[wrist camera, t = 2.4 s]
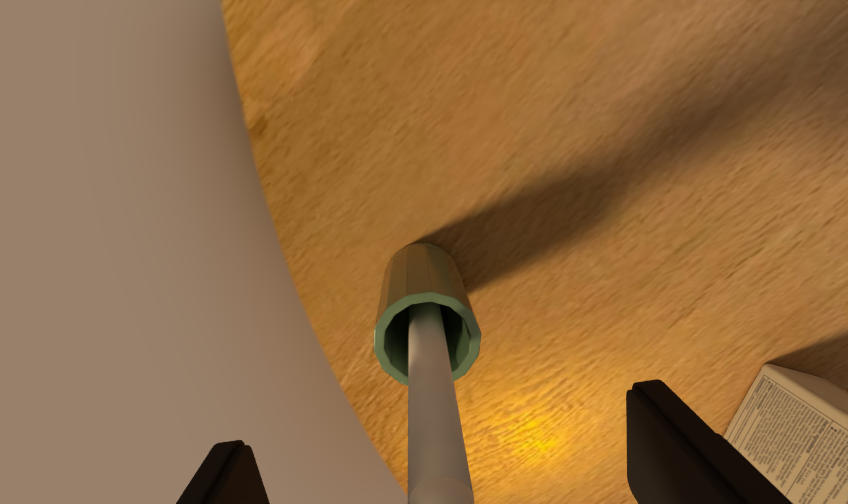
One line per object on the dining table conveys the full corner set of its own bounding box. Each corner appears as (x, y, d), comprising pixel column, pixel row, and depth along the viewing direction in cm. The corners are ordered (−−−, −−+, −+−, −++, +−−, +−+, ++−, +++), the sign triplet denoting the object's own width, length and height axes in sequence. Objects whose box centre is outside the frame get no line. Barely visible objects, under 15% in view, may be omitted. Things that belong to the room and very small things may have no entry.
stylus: (407, 271, 21) (401, 513, 8) (433, 266, 21) (475, 502, 8) (411, 295, 21) (413, 566, 8) (437, 291, 21) (483, 557, 8)
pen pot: (378, 248, 21) (363, 301, 14) (454, 237, 21) (475, 284, 14) (391, 317, 22) (382, 395, 16) (463, 305, 22) (486, 380, 15)
